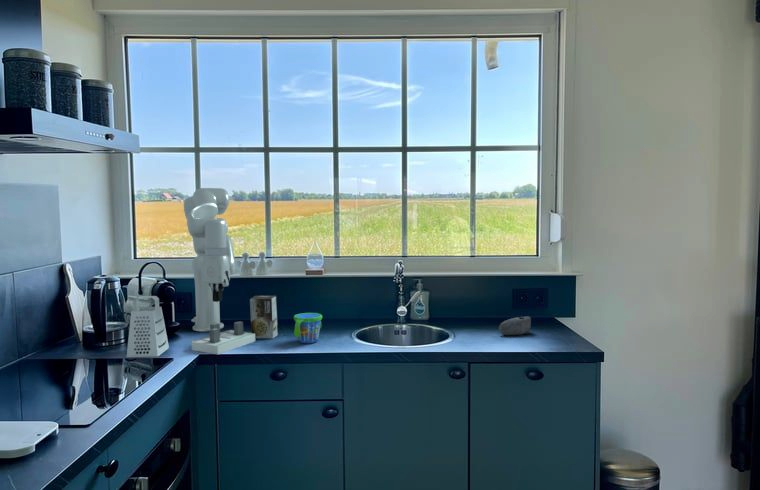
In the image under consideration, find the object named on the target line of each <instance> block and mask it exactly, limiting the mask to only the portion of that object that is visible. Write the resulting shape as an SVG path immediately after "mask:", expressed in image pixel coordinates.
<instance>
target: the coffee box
mask: <svg viewBox="0 0 760 490" xmlns="http://www.w3.org/2000/svg"><path fill="white" fill-rule="evenodd" d="M277 301H278V299H277V295H254V296H253V297H250V298H249V307H250V333H254V334H255V339H274V338H275V337H277V336H278V309H277V308H278V305H277Z"/></svg>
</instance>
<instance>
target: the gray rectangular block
mask: <svg viewBox="0 0 760 490" xmlns="http://www.w3.org/2000/svg"><path fill="white" fill-rule="evenodd" d="M233 331H234V333H233V334H234V335H241V334H244V332H245V331H244V322H243V321H235V322H234V323H233Z"/></svg>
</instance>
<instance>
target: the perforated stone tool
mask: <svg viewBox="0 0 760 490" xmlns="http://www.w3.org/2000/svg"><path fill="white" fill-rule="evenodd" d="M531 324H532V318H531V316H519V317H517V316H516V317H512V318H508V319H507V320H506V319H505V320H504V321H502V322H501V323H500V324H499V326H498V332H499V333H500V334H502V335H504V336H522V335H525V334H526V335H527V334H529V333H530V331H531V327H532V326H531Z"/></svg>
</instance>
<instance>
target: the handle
mask: <svg viewBox="0 0 760 490" xmlns="http://www.w3.org/2000/svg"><path fill="white" fill-rule="evenodd" d="M208 332H209V335H210V341H208V342H211V343H216V342H219V341H221V340H220V333H221V330H220V331H219V329H218V328H214V329H211V330H209V331H208Z"/></svg>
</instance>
